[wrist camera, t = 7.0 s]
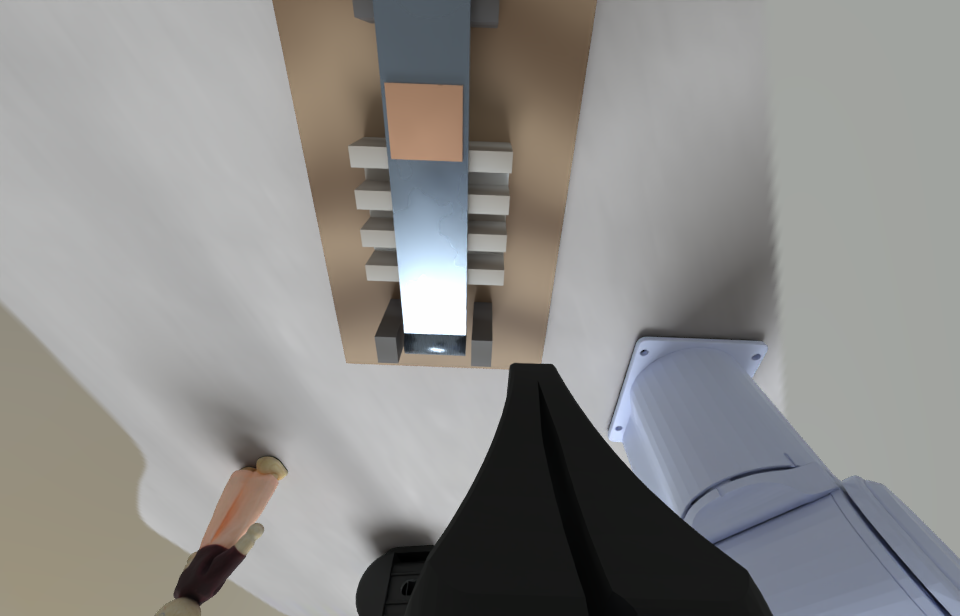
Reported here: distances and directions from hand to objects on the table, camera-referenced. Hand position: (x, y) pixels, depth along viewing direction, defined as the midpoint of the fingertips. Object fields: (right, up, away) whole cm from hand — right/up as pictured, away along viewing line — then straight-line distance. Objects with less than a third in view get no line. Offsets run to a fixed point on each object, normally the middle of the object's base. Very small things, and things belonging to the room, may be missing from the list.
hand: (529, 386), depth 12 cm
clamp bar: (-4, +8, +5) cm, 10 cm away
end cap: (-9, -25, +29) cm, 39 cm away
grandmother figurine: (-20, -11, +20) cm, 31 cm away
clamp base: (-4, +8, +7) cm, 11 cm away
